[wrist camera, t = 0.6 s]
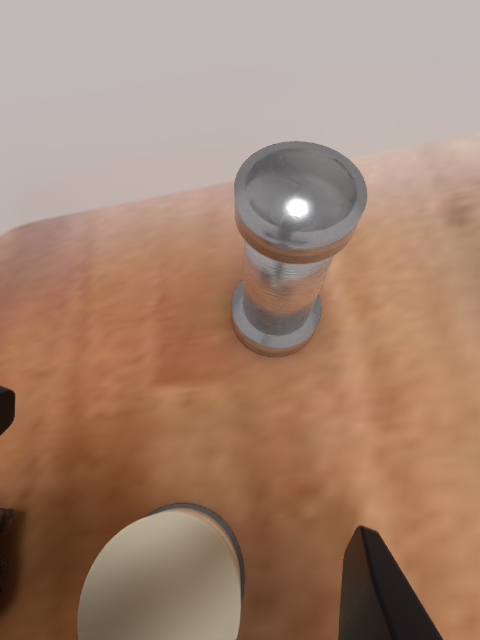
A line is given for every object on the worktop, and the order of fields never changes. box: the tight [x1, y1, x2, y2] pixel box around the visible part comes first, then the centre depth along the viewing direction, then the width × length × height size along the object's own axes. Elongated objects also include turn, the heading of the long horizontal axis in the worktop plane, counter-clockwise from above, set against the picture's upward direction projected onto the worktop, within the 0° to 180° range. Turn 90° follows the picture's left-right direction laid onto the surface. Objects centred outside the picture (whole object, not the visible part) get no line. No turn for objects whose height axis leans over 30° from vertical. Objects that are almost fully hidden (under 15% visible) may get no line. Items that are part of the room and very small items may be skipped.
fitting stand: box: [77, 503, 245, 640], centre depth 16 cm, size 7×7×5 cm
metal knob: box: [232, 141, 367, 357], centre depth 19 cm, size 6×6×12 cm
